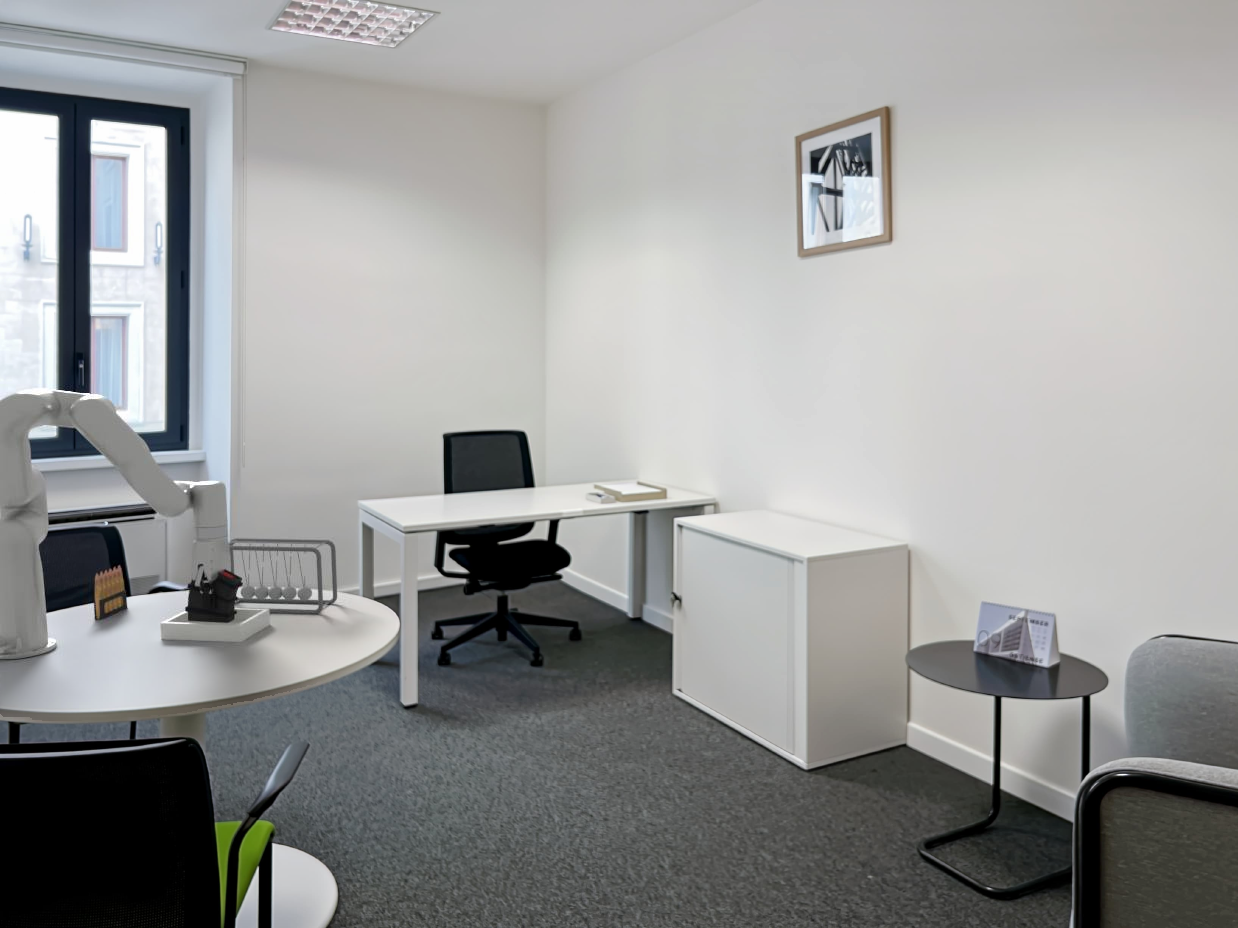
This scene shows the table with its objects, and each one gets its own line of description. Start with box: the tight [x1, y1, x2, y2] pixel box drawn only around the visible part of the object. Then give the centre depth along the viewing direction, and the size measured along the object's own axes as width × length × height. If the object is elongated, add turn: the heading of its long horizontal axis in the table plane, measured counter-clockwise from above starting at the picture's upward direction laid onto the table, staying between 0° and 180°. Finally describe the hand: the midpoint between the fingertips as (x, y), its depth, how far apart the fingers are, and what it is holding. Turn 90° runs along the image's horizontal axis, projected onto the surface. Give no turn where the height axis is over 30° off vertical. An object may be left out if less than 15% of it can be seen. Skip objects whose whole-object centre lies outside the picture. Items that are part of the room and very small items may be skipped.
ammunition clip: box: [93, 564, 128, 621], centre depth 237 cm, size 11×2×12 cm, turn 174°
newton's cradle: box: [229, 537, 338, 615], centre depth 242 cm, size 30×10×18 cm, turn 85°
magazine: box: [184, 569, 244, 623], centre depth 221 cm, size 4×13×15 cm, turn 82°
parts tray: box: [160, 607, 271, 643], centre depth 222 cm, size 14×20×4 cm
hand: (214, 605), depth 221 cm, fingers closed on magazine, 3 cm apart
